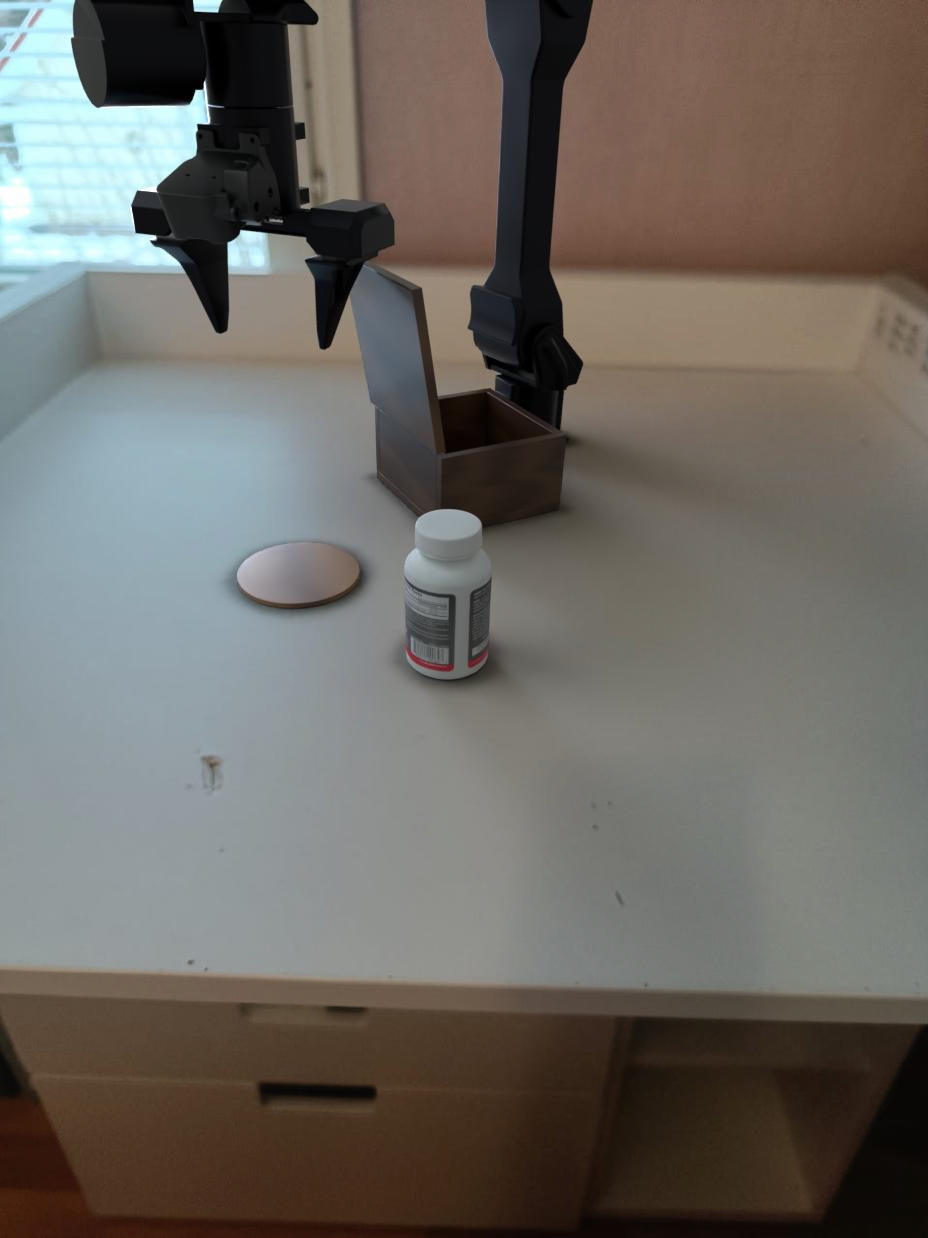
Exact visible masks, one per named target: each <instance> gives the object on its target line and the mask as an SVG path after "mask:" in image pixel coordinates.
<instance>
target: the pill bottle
mask: <svg viewBox="0 0 928 1238" xmlns="http://www.w3.org/2000/svg"><path fill="white" fill-rule="evenodd" d="M414 543H415V548H414V549H412V550H411V551H410V552H409V553H408V555H407V556H406V559H405V562H404V570H403V574H404V576H403V578H404V581H403V582H404V623H405V624H404V629H405V630H404V631H405V634H404V635H405V636H404V637H405V639H404V640H405V656H406V660H407V663H409V664H408V665H410V666H411V667H412V668H413V669H414V671H416V672H418V673H420V674H421V675H424V676H426V677H429V678H433V679H438V680H456V679H462V678H465V677H468V676H471V675H474V674H475V673H477V672H478V671H479V670H480V669H481V668H483V666H484V665H485V664H486V661H487V660H488V656H489V644H490V623H491V622H490V621H491V617H490V616H491V598H492V580H493V564H492V561H491V558H490V556H489V555H488V554H487V552H486V551H485V550H484V549H482V546H483V527H482V524H481V521H480V520H479V519H478V518H477V517H476V516H474V515H473V514H471V513H468V512H465V511H461V510H454V509H442V510H435V511H431V512H428V513H426V514H424V515H422V516H421V517H418V518H417V520H416V521H415V525H414Z"/></svg>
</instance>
